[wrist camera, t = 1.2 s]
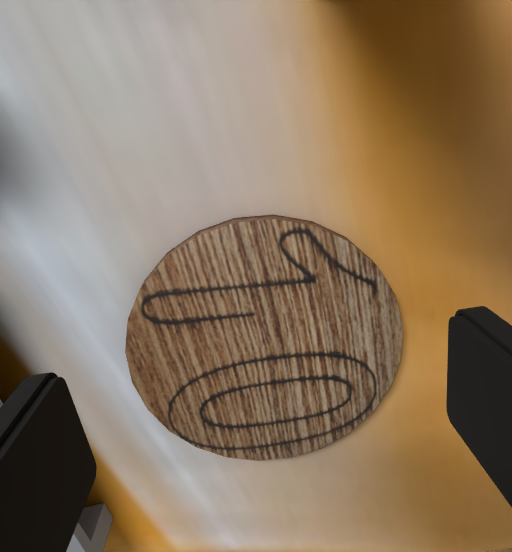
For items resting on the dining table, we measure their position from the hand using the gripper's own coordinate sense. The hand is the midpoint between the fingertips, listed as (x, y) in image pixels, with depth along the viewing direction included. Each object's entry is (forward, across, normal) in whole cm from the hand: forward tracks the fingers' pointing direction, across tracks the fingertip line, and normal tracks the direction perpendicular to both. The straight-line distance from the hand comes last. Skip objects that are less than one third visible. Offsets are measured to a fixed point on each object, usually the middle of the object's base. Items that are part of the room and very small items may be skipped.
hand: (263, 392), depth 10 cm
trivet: (+26, 0, +14) cm, 29 cm away
